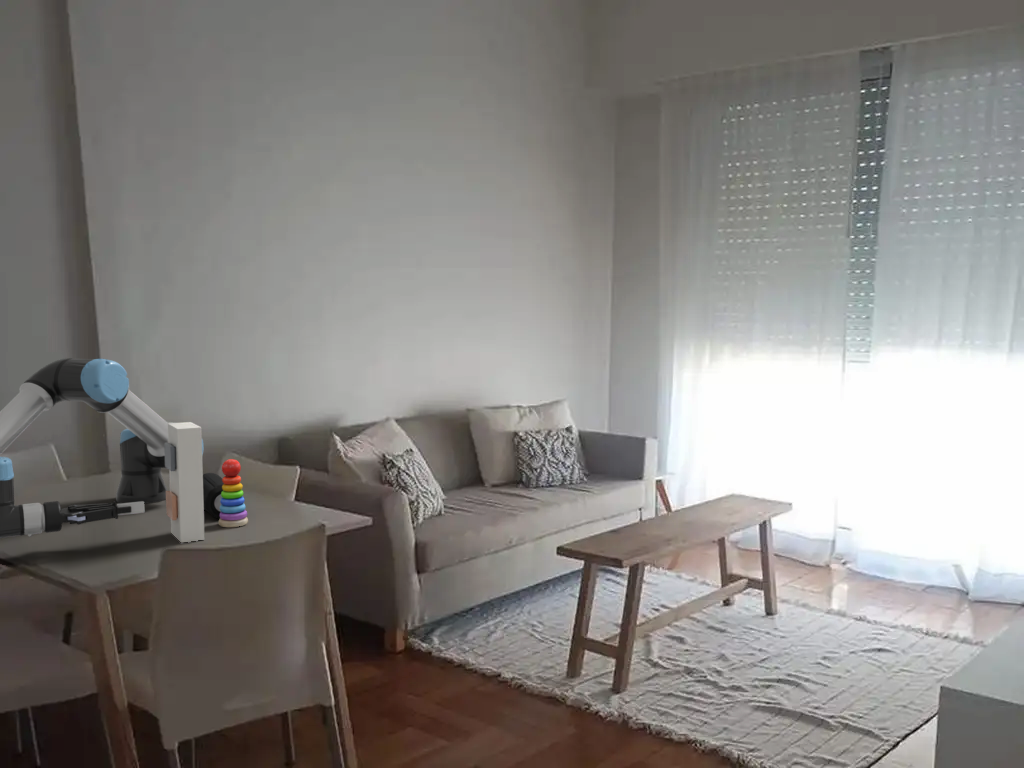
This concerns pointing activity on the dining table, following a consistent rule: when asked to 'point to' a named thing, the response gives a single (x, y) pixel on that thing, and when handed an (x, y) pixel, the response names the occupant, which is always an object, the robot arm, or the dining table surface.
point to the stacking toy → (232, 496)
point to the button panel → (187, 481)
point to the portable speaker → (212, 493)
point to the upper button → (170, 456)
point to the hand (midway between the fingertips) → (143, 506)
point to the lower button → (171, 505)
